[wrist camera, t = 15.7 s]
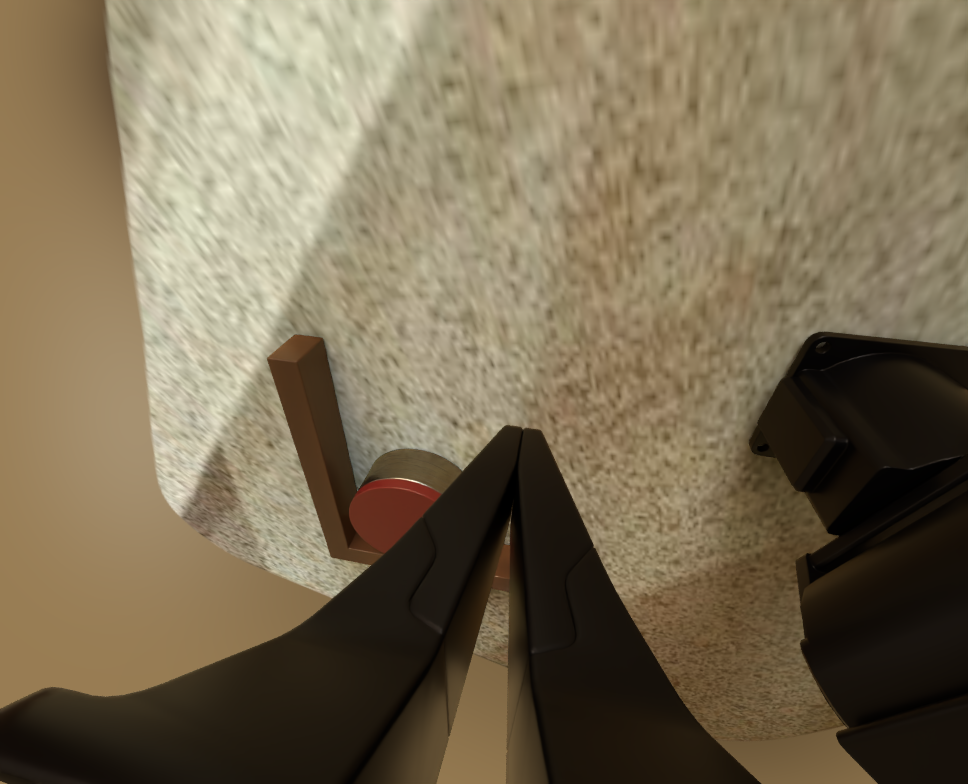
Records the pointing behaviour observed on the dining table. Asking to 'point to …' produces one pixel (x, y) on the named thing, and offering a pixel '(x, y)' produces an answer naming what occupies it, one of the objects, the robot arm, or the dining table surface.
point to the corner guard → (329, 448)
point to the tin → (398, 494)
